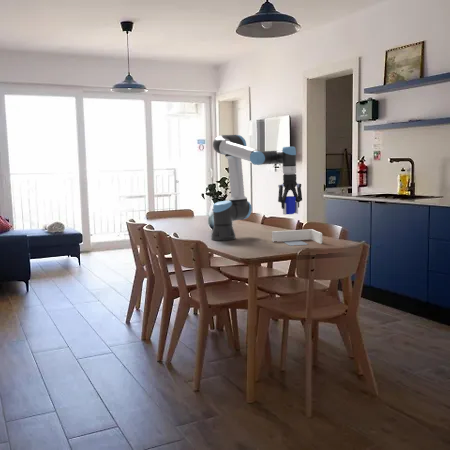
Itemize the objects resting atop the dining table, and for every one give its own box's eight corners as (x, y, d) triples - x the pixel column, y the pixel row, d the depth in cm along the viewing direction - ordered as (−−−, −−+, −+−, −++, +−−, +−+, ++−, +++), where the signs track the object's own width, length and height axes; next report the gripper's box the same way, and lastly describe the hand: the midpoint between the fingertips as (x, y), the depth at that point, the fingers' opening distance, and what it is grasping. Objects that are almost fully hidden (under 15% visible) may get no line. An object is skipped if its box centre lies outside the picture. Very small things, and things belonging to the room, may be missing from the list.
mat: (289, 245, 299) (289, 245, 299) (282, 241, 314) (282, 241, 314) (308, 244, 301) (308, 244, 301) (300, 240, 316) (300, 240, 316)
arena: (280, 246, 299) (279, 235, 299) (272, 241, 316) (271, 231, 315) (322, 243, 304) (322, 233, 303) (312, 238, 320) (312, 229, 320)
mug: (283, 215, 298) (282, 198, 297) (281, 213, 310) (280, 196, 309) (297, 215, 298) (297, 197, 296) (295, 212, 310) (294, 195, 308)
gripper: (276, 174, 294) (277, 215, 297) (308, 173, 301) (309, 213, 304) (271, 174, 301) (272, 214, 304) (301, 173, 308) (302, 212, 311)
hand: (290, 213), depth 304 cm, fingers closed on mug, 7 cm apart
